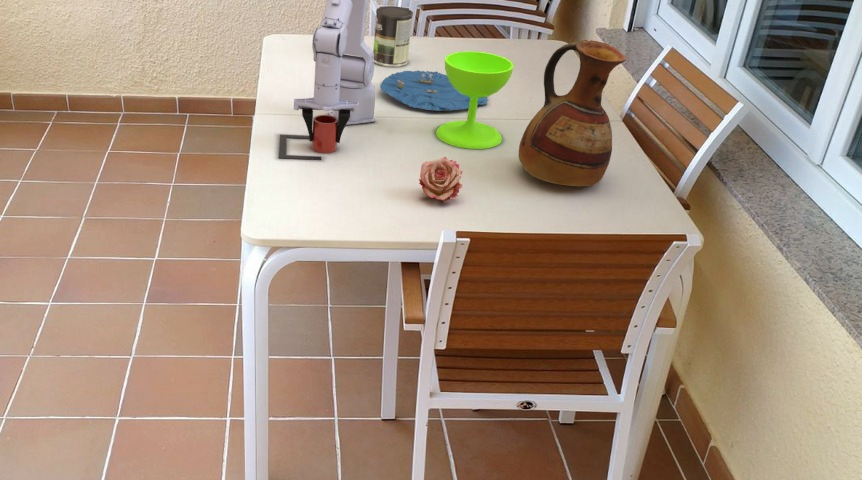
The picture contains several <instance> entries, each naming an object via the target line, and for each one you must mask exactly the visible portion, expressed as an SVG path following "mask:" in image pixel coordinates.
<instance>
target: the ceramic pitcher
mask: <svg viewBox="0 0 862 480" xmlns="http://www.w3.org/2000/svg"><path fill="white" fill-rule="evenodd" d="M569 51H575V52H576V53H578V57H579V71H578V74H577V76H576V79H575V81H574V84H573V85H572V87H571V89H570V90H569V91H568V92H567V93H566V94H563V95H558V94H557V93H556V91H555V71H556V67H557V65H558V63H559V62H560V60H561V59H562V57H563V56H564V55H565V54H566V53H567V52H569ZM626 60H627V57H626V56H625V55H624V54H623V53H621V52H620V50H619V49H617V48H616V47H614V46H612V45H610V44H608V43H606V42H602V41H598V40H592V39H590V40H587V39H583V40H582V39H581V40H578V41H576V42H570V43H567V44H563V45H562V46H559V48H557V49H556V50H555V51H554V52H553V53H552V55H551V56H550V58H549V60H548V62H547V63H546V66H545V68H544V73H543V90H544V103H543V106H542V107H541V108H540V109H539V111H537V112H536V113H535V115H534V116H533V118H531V120H530V121H529V123H528V124H527V125H526V128H525V130H524V132H523V134H522V137H521V139H520V142H519V145H518V161H519V163H520V164H521V166H522V167H523V168H524V169H525V171H526V172H527V173H528V174H529V175H530V176H532V177H534V178H536V179H538V180H540V181H542V182H547V183H551V184H555V185H560V186H561V185H562V186H567V187H569V186H570V187H585V186H587V187H589V186H594V185H596V184H598V183H600V182H601V180H602V179H603V178H604V175H605V174H606V171H607V170H608V167H609V164H610V161H611V157H612V152H613V129H612V124H611V121H610V117H609V115H608V114H607V112H606V110H605V109H604V108H603V106H602V98H603V97H602V96H603V91H604V88H605V87H606V85H607V83H608V80H609V77H610V74H611V72H612V71H613V70H614V69H615V68H616V67H617V66H619V65H621V64H623V63H625V62H626Z"/></svg>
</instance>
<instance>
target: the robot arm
mask: <svg viewBox="0 0 862 480" xmlns="http://www.w3.org/2000/svg"><path fill="white" fill-rule="evenodd" d="M368 6H369V0H326V2H325V6H324V9H323V13H322V17H321V21H320V24H319V27H316V28H315V29H314V31H313V35H312V42H311V43H312V44H311V45H312V46H311V47H312V53H313V62H314V63H315V65H314V84H313V86H314V87H313V97H307V98H306V97H305V98H293V111H299V110H301V115H302V119H303V121H304V123H305V126H306V128H307V133H308V136H309V139H308V141H309V142H310V143H312V142H313V118H314V111H323V112H327V115H330V116H334V117H336V118H337V119H338V129H337V144H340V143H341V138H342V136H343V132H344V129H345V128H346V126H348V125H358V124H366V123H367V124H368V123H375V122H376V120H375V108H376V90H375V85H374V84H373V83H372V80H373V78H374V72H375V63H374V52H373V49H371V47H369V45H367V43H366V42H365V35H366V34H365V33H366V25H367V18H368V17H367V16H368Z"/></svg>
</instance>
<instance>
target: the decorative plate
mask: <svg viewBox="0 0 862 480" xmlns="http://www.w3.org/2000/svg"><path fill="white" fill-rule="evenodd" d="M379 87H380V88H379V89H380V91H382V93H385V94H387V95H389V96H390V97H392V98H394V100H397V101H399V102H400V103H403V104H405V105H408V106H409V107H410V108H414V109H421V110H426V111H436V112H437V111H439V112H443V111H448V112H449V111H451V112H453V111H457V110H458V111H461V110H469V103H470V97H469V96H466V95H464V94H461V93H460V92H459V91H458V90H456V89H455V88H454V87H453V86H452V84H451V83H450V81H449V79H448V77H447V74H444V73H441V72H439V71H429V70H426V71H424V70H403V71H397V72H395V73H391V74H390V75H389V76H387V77H385V78H384V79H383V80H382V81H381V83H380V84H379ZM483 105H488V97H481V98H478V103H477V106H483Z"/></svg>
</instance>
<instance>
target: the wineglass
mask: <svg viewBox="0 0 862 480" xmlns="http://www.w3.org/2000/svg"><path fill="white" fill-rule="evenodd" d="M514 66H515V65H514V63H513V62H512V61H511V60H510V59H509V58H506V57H504V56H502V55H498V54H495V53H489V52H484V51H483V52H482V51H467V50H466V51H456V52H453V53H449V54H447V55H446V56H445V57H444V70H445V75H447V77H448V79H449V81H450V83H451V84H452V86H453V87H454V88H455V89H456V90H458V91H459V92H460V93H461V94H464V95H466V96H469V97H470V103H469V108H468V109H467V110H468V111H467V118H466V120H452V121H449V122H445V123H443V124H441V125H440V126H439V127H437V129H436V132H435V135H436V138H438V139H439V141H441V142H444V143H445V144H447V145H450V146H452V147H457V148H461V149H468V150H484V149H491V148H494V147H497V146H498V145H500V144H501V143H502V139H503V137H502V135H501V133H500V131H498V130H497V129H496V128H495V127H493V126H491V125H488V124H486V123H483V122H478V121H476V117H477V116H476V115H477V110H478V105H477V103H478V98H481V97H487V98H488V97H490V96H492V95H494V94H496V93H498V92H499V91H500V90H501V89H502V88H504V86H506V85H507V83H508V81H510V79H511V76H512V73H513V70H514Z"/></svg>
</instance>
